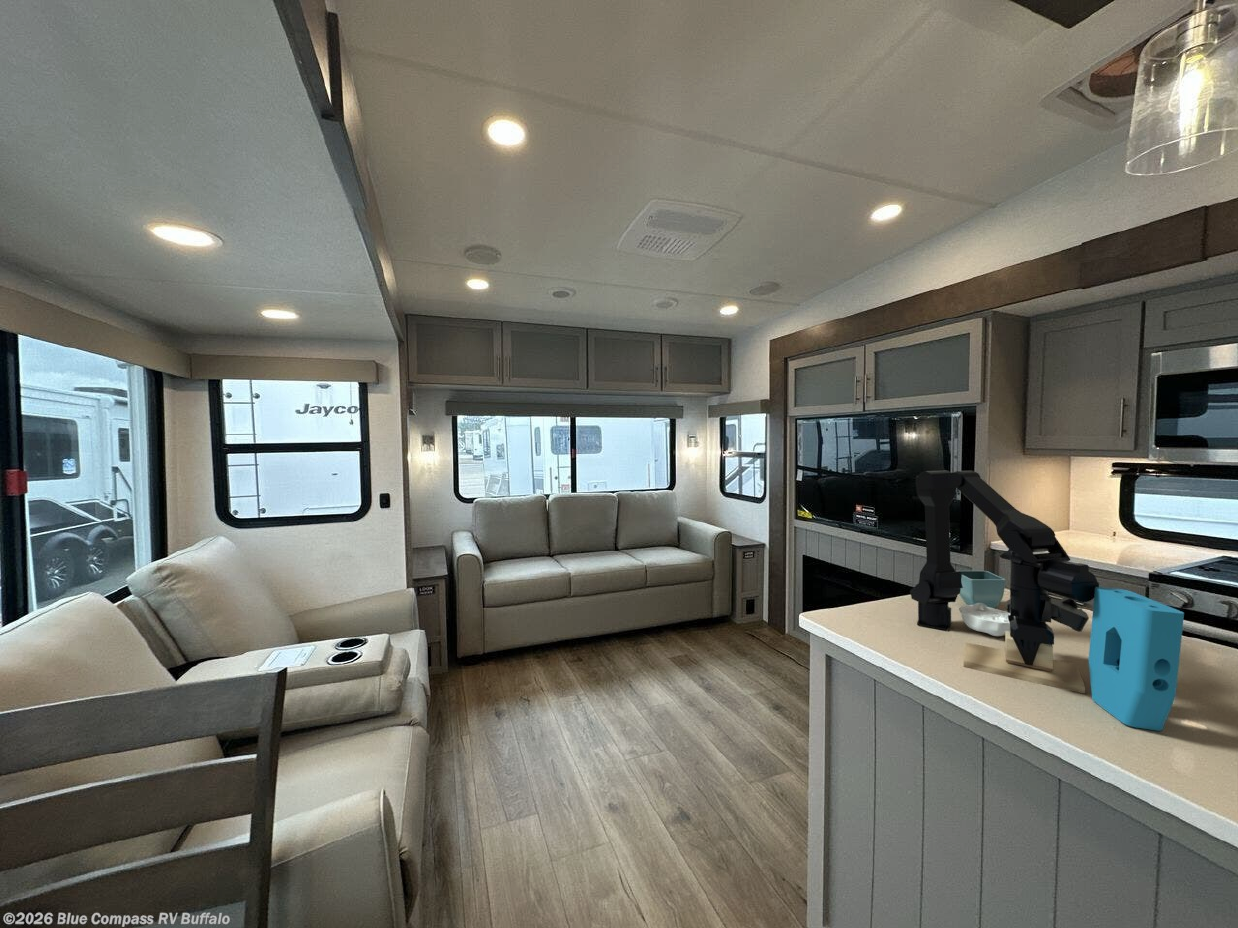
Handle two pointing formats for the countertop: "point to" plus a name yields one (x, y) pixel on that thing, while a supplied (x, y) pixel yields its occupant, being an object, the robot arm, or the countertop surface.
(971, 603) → the flower pot
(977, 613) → the cell model
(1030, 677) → the board
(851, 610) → the countertop surface
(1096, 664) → the block
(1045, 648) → the block
